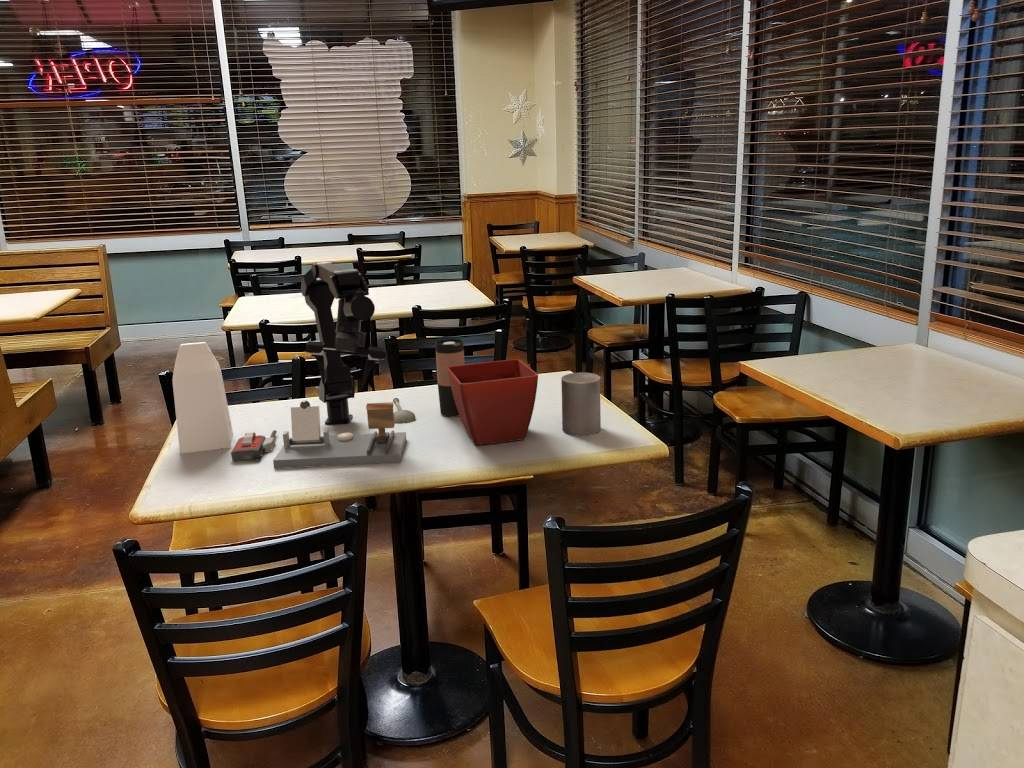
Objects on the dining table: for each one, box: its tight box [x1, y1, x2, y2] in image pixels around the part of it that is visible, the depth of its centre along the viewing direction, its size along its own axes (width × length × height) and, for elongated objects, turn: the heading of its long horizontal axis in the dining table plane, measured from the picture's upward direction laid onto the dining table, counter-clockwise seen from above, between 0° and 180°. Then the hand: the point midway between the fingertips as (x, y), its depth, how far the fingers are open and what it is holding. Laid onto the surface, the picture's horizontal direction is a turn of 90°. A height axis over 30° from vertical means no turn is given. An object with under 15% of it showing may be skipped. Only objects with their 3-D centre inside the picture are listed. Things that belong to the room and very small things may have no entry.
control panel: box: [272, 428, 407, 469], centre depth 200 cm, size 16×29×6 cm, turn 92°
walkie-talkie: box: [230, 429, 278, 463], centre depth 206 cm, size 9×4×20 cm
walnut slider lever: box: [365, 401, 395, 443], centre depth 201 cm, size 4×6×9 cm, turn 92°
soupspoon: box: [392, 397, 416, 425], centre depth 231 cm, size 22×3×7 cm
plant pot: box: [447, 358, 539, 446], centre depth 206 cm, size 19×19×17 cm
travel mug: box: [434, 338, 466, 418], centre depth 226 cm, size 8×8×20 cm
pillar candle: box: [560, 372, 602, 437], centre depth 208 cm, size 10×10×15 cm
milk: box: [172, 341, 234, 454], centre depth 209 cm, size 12×12×26 cm
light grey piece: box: [289, 400, 324, 445], centre depth 200 cm, size 2×8×11 cm, turn 92°
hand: (343, 386), depth 201 cm, fingers open, 9 cm apart
